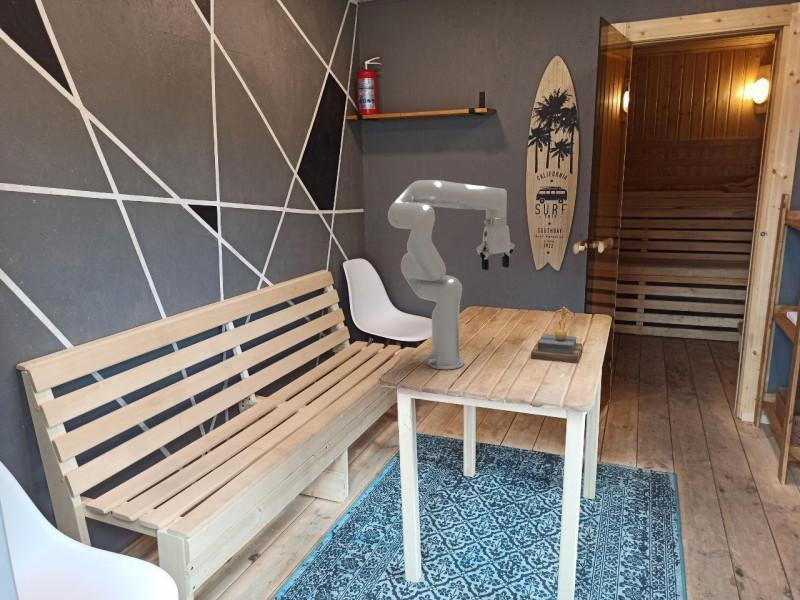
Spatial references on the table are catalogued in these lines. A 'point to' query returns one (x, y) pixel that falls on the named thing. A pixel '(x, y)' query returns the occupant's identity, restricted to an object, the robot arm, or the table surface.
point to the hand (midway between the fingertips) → (495, 268)
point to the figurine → (560, 333)
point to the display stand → (557, 349)
